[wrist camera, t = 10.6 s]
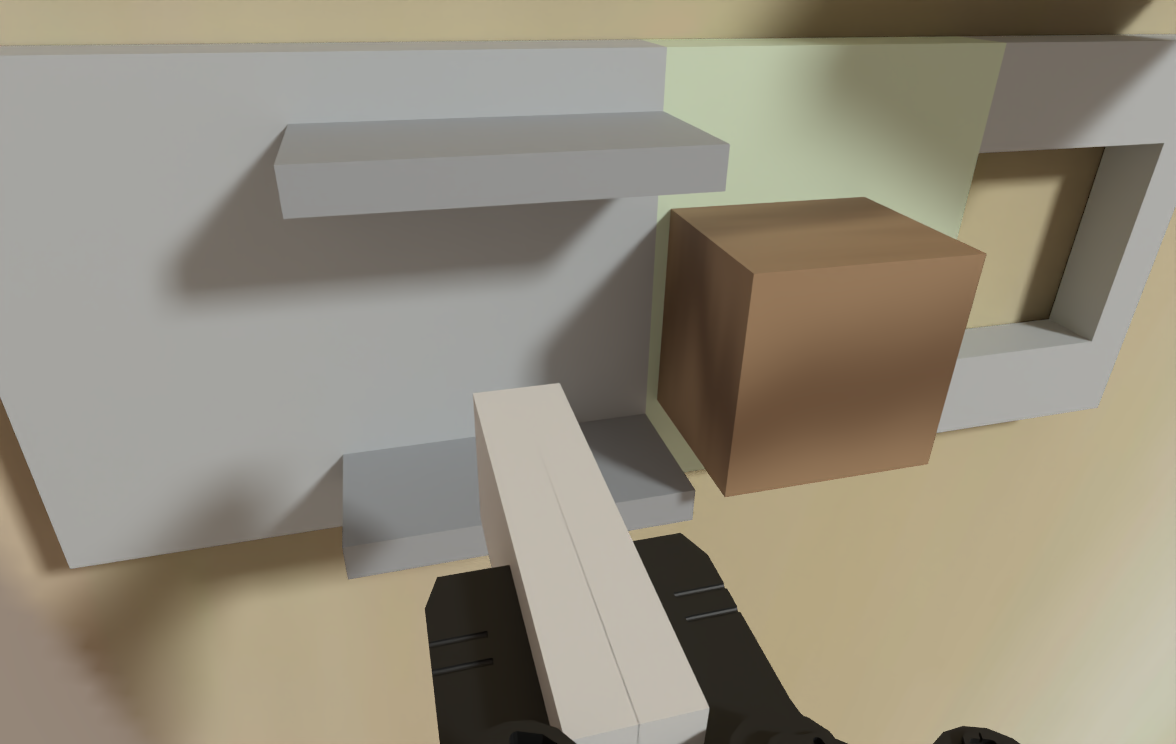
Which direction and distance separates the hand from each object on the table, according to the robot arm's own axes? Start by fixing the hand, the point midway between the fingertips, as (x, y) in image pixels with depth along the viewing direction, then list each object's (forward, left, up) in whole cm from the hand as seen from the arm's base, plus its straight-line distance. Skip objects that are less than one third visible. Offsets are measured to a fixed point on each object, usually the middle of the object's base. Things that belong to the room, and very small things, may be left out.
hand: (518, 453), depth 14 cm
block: (+1, +9, -8) cm, 12 cm away
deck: (+1, +6, -10) cm, 12 cm away
